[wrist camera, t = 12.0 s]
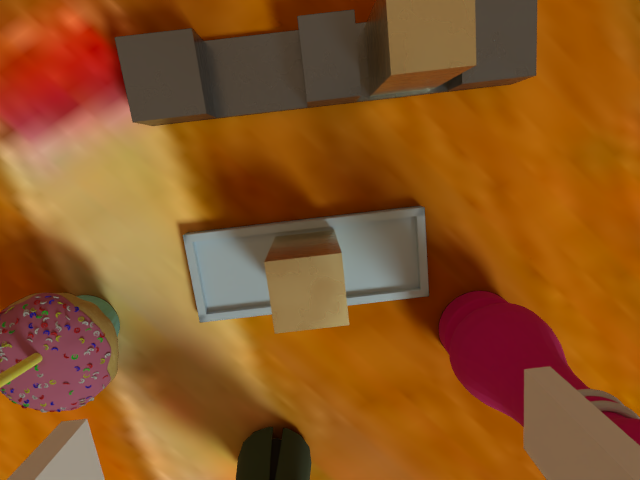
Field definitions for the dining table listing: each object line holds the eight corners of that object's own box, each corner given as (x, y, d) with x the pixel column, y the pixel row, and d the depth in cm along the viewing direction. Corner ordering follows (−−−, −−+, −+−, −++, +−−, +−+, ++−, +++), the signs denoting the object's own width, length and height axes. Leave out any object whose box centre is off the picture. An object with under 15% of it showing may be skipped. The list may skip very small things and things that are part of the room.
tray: (420, 205, 29) (424, 207, 28) (425, 291, 30) (429, 296, 29) (187, 232, 29) (182, 235, 28) (203, 317, 30) (199, 322, 29)
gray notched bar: (511, 7, 26) (537, -13, 23) (511, 84, 27) (536, 75, 24) (136, 50, 26) (114, 37, 23) (152, 125, 27) (132, 121, 24)
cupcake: (63, 253, 29) (-106, 319, 17) (163, 307, 30) (69, 404, 18) (20, 340, 30) (-164, 457, 19) (116, 388, 31) (1, 526, 20)
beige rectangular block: (340, 285, 29) (349, 324, 23) (283, 292, 29) (274, 333, 23) (334, 229, 28) (341, 253, 22) (275, 236, 28) (264, 262, 22)
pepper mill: (421, 300, 30) (621, 560, 11) (508, 272, 30) (876, 488, 10) (444, 375, 32) (654, 722, 12) (526, 349, 32) (877, 663, 12)
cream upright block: (430, 18, 25) (474, -32, 19) (433, 88, 26) (476, 65, 20) (364, 26, 25) (384, -22, 19) (370, 96, 26) (390, 75, 20)
